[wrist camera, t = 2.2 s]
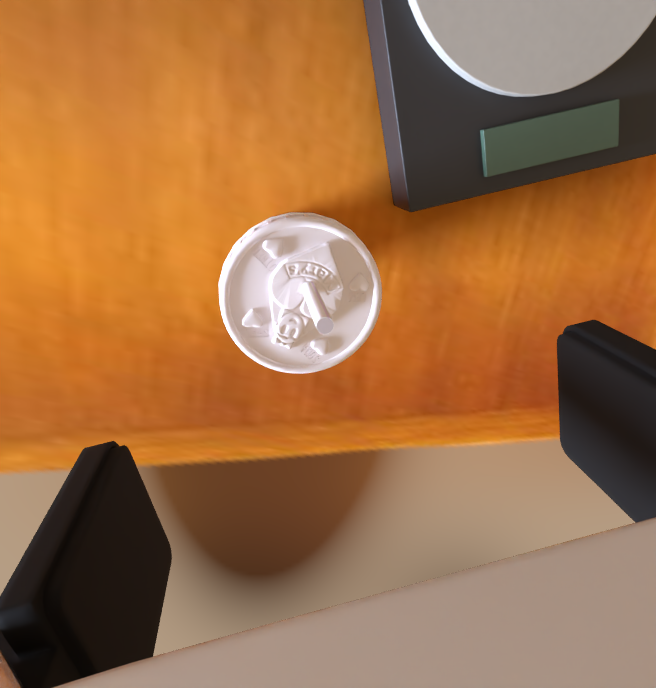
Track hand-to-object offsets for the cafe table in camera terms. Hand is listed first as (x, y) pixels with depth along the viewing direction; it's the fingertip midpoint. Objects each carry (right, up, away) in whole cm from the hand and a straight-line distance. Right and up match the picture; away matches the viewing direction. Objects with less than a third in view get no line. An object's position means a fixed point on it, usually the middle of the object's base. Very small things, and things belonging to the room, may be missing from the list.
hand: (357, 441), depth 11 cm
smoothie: (-3, +7, +18) cm, 19 cm away
